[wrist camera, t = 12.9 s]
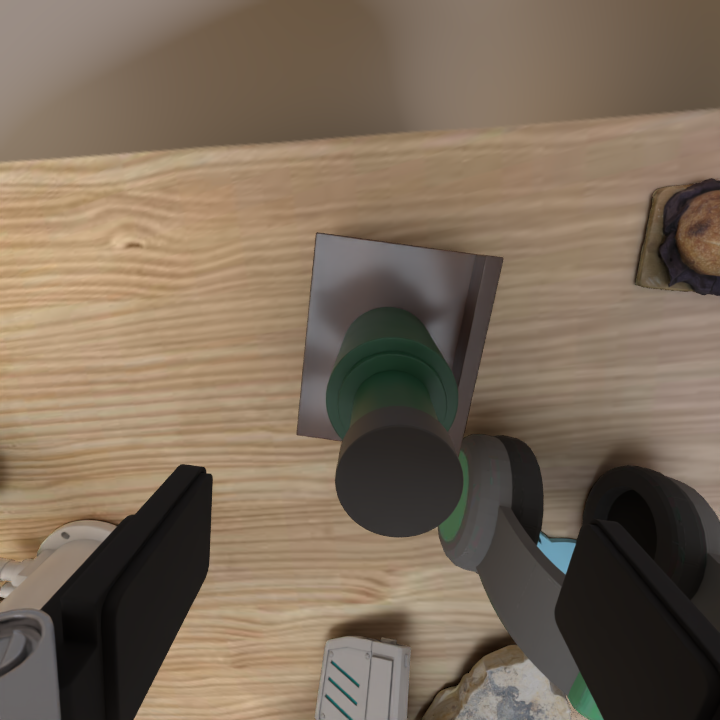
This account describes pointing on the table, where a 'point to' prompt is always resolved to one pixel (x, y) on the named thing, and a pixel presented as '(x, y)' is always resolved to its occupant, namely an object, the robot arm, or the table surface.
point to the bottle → (394, 425)
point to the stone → (501, 692)
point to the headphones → (605, 502)
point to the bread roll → (683, 240)
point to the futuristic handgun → (363, 680)
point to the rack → (400, 290)
